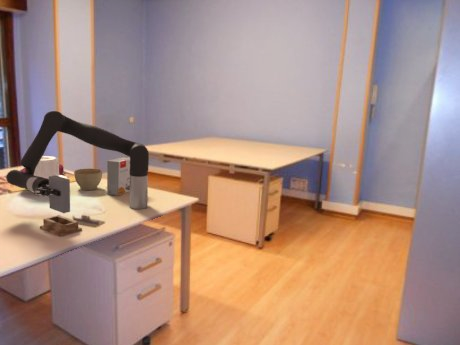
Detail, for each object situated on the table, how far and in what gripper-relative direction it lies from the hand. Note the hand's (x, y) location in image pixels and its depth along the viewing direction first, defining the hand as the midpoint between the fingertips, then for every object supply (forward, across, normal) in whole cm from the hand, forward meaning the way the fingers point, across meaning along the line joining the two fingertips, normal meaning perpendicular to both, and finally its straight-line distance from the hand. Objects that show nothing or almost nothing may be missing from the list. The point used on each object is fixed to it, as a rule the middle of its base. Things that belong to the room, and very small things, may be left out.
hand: (63, 193), depth 162 cm
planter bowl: (-51, +51, +17) cm, 74 cm away
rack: (-3, 0, +17) cm, 17 cm away
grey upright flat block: (-3, 0, +8) cm, 8 cm away
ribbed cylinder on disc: (-65, +31, +17) cm, 74 cm away
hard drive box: (-31, +58, +17) cm, 68 cm away
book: (-93, +47, +18) cm, 106 cm away
